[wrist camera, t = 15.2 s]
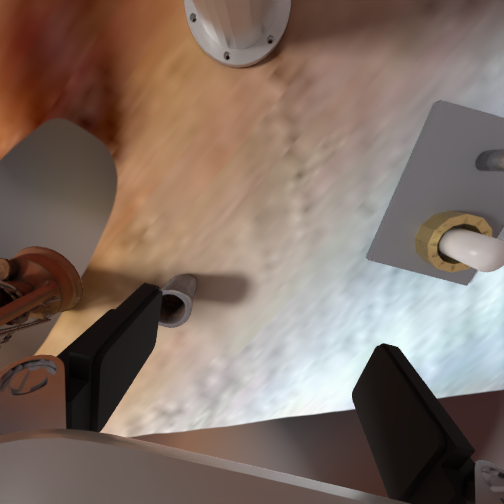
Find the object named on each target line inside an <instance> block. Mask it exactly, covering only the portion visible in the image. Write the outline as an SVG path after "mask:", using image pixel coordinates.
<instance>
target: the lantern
mask: <svg viewBox="0 0 504 504" xmlns="http://www.w3.org/2000/svg"><path fill="white" fill-rule="evenodd" d="M82 291H83V288H82V282H81V279H80V276H79V274H78V272H77V271H76V269H75V267H74V266H73V265H72V264H71V263H70V262H69V261H68V260H67V259H66V258H65V257H64V256H63V255H61V254H59V253H58V252H56V251H54V250H52V249H48V248H45V247H38V246H32V247H27V248H25V249H23V250H21V251H20V252H18V253H17V254H16V255H15V257H14V258H11V259H9V260H8V259H3V258H0V326H2V325H4V324H6V325H19V326H15V327H11V328H6V329H2V330H0V331H4V330H8V329H12V328H16V327H18V328H17V329H13V330H9V331H5V332H2V333H0V336H2V335H6V334H8V335H7V336H9V335H10V334H12V333H14V332H16V331H19V330H23V329H26V328H29V327H32V326H35V325H39V324H42V323H45V322H48V321H50V320H51V319H48V318H49V317H51V316H53V315H55V314H56V313H58V312H64V311H67V310H70V309H71V308H73V307H75V306H76V305H77V304H78V302H79V301H80V300H81V297H82ZM28 318H31V319H37V320H35V321H34V322H32V323H27V324H23V325H21V324H22V323H24V322H25V321H27V320H28ZM33 323H34V324H33ZM29 324H31V325H29ZM25 325H27V326H25ZM20 326H24V327H21V328H19V327H20ZM7 336H6V337H5V338H4V341H3V342H1V344H2V343H5V342H8V341H9V339H10V338H11V336H9V337H7Z"/></svg>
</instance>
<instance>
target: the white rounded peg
mask: <svg viewBox="0 0 504 504" xmlns="http://www.w3.org/2000/svg"><path fill="white" fill-rule="evenodd" d="M437 251H438V252H441V253H443V254H445V255H447V256H449V257H451V258H453V259H455V260H458V261H460V262H462V263H464V264H466V265H468V266H470V267H472V268H475V269H477V270H479V271H482V272H491V271H495V270H497V269H499V268H501V267H502V266H503V265H504V241H503V240H500V239H496V238H493V237H490V236H486V235H483V234H479V233H476V232H473V231H469V230H466V229H462V228H459V227H456V226H453V227H451V228H450V229H449V230H447V231H446V232H445V233H443V234H442V236H441V238H440V240H439V242H438V243H437Z"/></svg>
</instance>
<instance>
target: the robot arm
mask: <svg viewBox="0 0 504 504" xmlns="http://www.w3.org/2000/svg"><path fill="white" fill-rule="evenodd" d="M184 5H185V13H186V17H187V21H188V24H189V27H190V29H191V32H192V34H193V36H194V38H195V40H196V41H197V43H198V44H199V46H200V47H201V48H202V50H203V51H204V52H205V53H206V54H207V55H208V56H209V57H210V58H211V59H213V60H215V61H216V62H218V63H220V64H222V65H225V66H228V67H235V68H241V67H248V66H251V65H254V64H256V63H258V62H260V61H261V60H263V59H264V58H266V57H267V56H268V55H269V54H270V53H271V52H272V51H273V50H274V49H275V47H276V46H277V45H278V43H279V42H280V40H281V38H282V36H283V34H284V32H285V29H286V26H287V23H288V20H289V15H290V9H291V0H184ZM194 20H196V21H195V22H194ZM269 41H271V42H272V44H269V43H268V42H269ZM227 57H230V59H229V60H226V58H227ZM162 295H163V292H162V291H161V290H159V287H158V286H155V285H151V284H147V283H144V284H143V285H142V286H140V287H139V288H138V289H137V290H136V291H135V292H134V293H133V294H132V295H131V296H129V297H128V298H127V299H126V300H125V301H124V302H123V303H122V304H121V305H120V306H119V307H117V308H116V309H111V310H109V311H108V312H107V313H105V314H104V315H103V316H102V317H101V318H100V319H99V320H97V321H96V322H95V323H94V324H93V325H92V326H91V327H90V328H88V329H87V330H86V331H85V332H84V333H83V334H82V335H80V336H79V337H78V338H77V339H76V340H75V341H74V342H73V343H71V344H70V345H69V346H68V347H67V348H66V349H65V350H63V351H62V352H61V353H60V354H59V355H58V356H57V357H55V356H52V355H36V356H30V357H27V358H24V359H20V360H18V361H16V362H14V363H12V364H10V365H8V366H7V367H5V368H4V369H3V370H1V371H0V504H504V470H502V469H501V468H499V467H498V466H496V465H494V464H492V463H489V462H487V461H482V460H480V461H477V462H476V463H474V462H473V461H472V459H471V458H470V457H471V455H472V454H473V453H474V452H475V450H474V448H473V447H472V446H471V445H470V443H469V442H468V440H467V439H466V438H465V436H464V435H463V433H462V432H461V431H460V429H459V428H458V427H457V425H456V424H455V423H454V421H453V420H452V419H451V417H450V416H449V415H448V413H447V412H446V411H445V409H444V408H443V407H442V405H441V404H440V403H439V402H438V400H437V399H436V397H435V396H434V394H433V393H432V392H431V390H430V389H429V388H428V386H427V385H426V384H425V382H424V381H423V380H422V378H421V377H420V376H419V374H418V373H417V372H416V370H415V369H414V368H413V366H412V365H411V364H410V362H409V361H408V360H407V358H406V357H405V356H404V354H403V353H402V351H401V350H400V349H399V348H398V347H396V346H392V345H388V344H384V343H383V344H381V345H380V346H377V347H376V348H375V349H374V351H373V353H372V355H371V357H370V359H369V361H368V363H367V365H366V366H365V368H364V370H363V372H362V374H361V376H360V378H359V380H358V382H357V384H356V385H355V387H354V389H353V392H352V400H353V403H354V405H355V408H356V411H357V413H358V416H359V419H360V422H361V424H362V427H363V430H364V432H365V435H366V437H367V440H368V443H369V446H370V448H371V451H372V453H373V456H374V459H375V462H376V464H377V467H378V470H379V473H380V475H381V478H382V480H383V483H384V486H385V489H386V491H387V494H388V496H389V498H390V499H389V498H385V497H381V496H377V495H373V494H369V493H365V492H361V491H356V490H352V489H348V488H344V487H340V486H336V485H332V484H327V483H323V482H319V481H315V480H311V479H306V478H302V477H298V476H294V475H289V474H285V473H281V472H277V471H272V470H268V469H264V468H260V467H255V466H251V465H247V464H242V463H238V462H234V461H230V460H225V459H221V458H216V457H212V456H208V455H203V454H199V453H195V452H190V451H186V450H182V449H178V448H173V447H169V446H164V445H159V444H155V443H150V442H145V441H141V440H136V439H131V438H126V437H121V436H117V435H112V434H106V433H99V432H100V431H101V430H102V429H103V427H104V426H105V424H106V423H107V421H108V420H109V418H110V417H111V415H112V413H113V412H114V410H115V409H116V407H117V406H118V404H119V402H120V401H121V399H122V398H123V396H124V395H125V393H126V391H127V390H128V388H129V387H130V385H131V384H132V382H133V380H134V379H135V377H136V376H137V374H138V373H139V371H140V370H141V368H142V366H143V365H144V363H145V362H146V360H147V359H148V357H149V355H150V354H151V352H152V351H153V349H154V346H155V343H156V337H157V330H158V323H159V316H160V309H161V302H162Z"/></svg>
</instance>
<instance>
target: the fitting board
mask: <svg viewBox="0 0 504 504" xmlns="http://www.w3.org/2000/svg"><path fill="white" fill-rule="evenodd" d="M496 149H504V118H502V117H498V116H495V115H491V114H488V113H484V112H481V111H477V110H473V109H470V108H466V107H463V106H459V105H456V104H452V103H448V102H445V101H441V100H440V101H437V102H435V103H434V104H433V106H432V109H431V111H430V113H429V115H428V118H427V120H426V122H425V124H424V127H423V129H422V131H421V134H420V136H419V138H418V140H417V143H416V145H415V147H414V149H413V152H412V154H411V156H410V158H409V161H408V163H407V165H406V167H405V170H404V172H403V174H402V177H401V179H400V181H399V183H398V186H397V188H396V190H395V192H394V195H393V197H392V199H391V201H390V204H389V206H388V208H387V210H386V213H385V215H384V217H383V220H382V222H381V224H380V226H379V229H378V231H377V233H376V235H375V238H374V240H373V242H372V244H371V247H370V249H369V251H368V253H367V256H366V258H367V259H368V260H371V261H375V262H378V263H382V264H386V265H390V266H394V267H398V268H401V269H405V270H409V271H413V272H417V273H421V274H424V275H428V276H432V277H436V278H440V279H443V280H447V281H451V282H455V283H459V284H463V285H466V286H467V285H468V283H469V281H470V280H471V278H472V277H473V275H474V273H475V272H476V270H477V269H475V268H472V267H471V268H469V269H466V270H461V271H457V272H448V271H444V270H440V269H437V268H435V267H433V266H432V265H430V264H428V263H426V262H425V261H423V260H422V258H421V257H420V256H419V255H418V254H417V253H416V251H415V237H416V235H417V233H418V231H419V229H420V227H421V225H422V224H423V223H424V222H425V221H427V220H428V219H429V218H431V217H432V216H433V215H434V214H438V213H442V212H446V211H450V210H452V211H457V212H462V213H466V214H470V215H474V216H478V217H482V218H484V219H485V221H486V222H487V223H488V225H489V226H490V227H491V228H492V237H493V238H497V236H498V235H499V233H500V232H501V230H502V228H503V227H504V171H479V170H478V169H477V168H476V165H475V162H476V159H477V157H478V156H479V155H480V154H481V153H482V152H484V151H487V150H496ZM456 227H459V228H462V229H464V228H463V226H462V225H461V224H460V225H456ZM437 254H438V256H439V257H441V256H446V255H445V254H443V253H441V252H438V251H437Z"/></svg>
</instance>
